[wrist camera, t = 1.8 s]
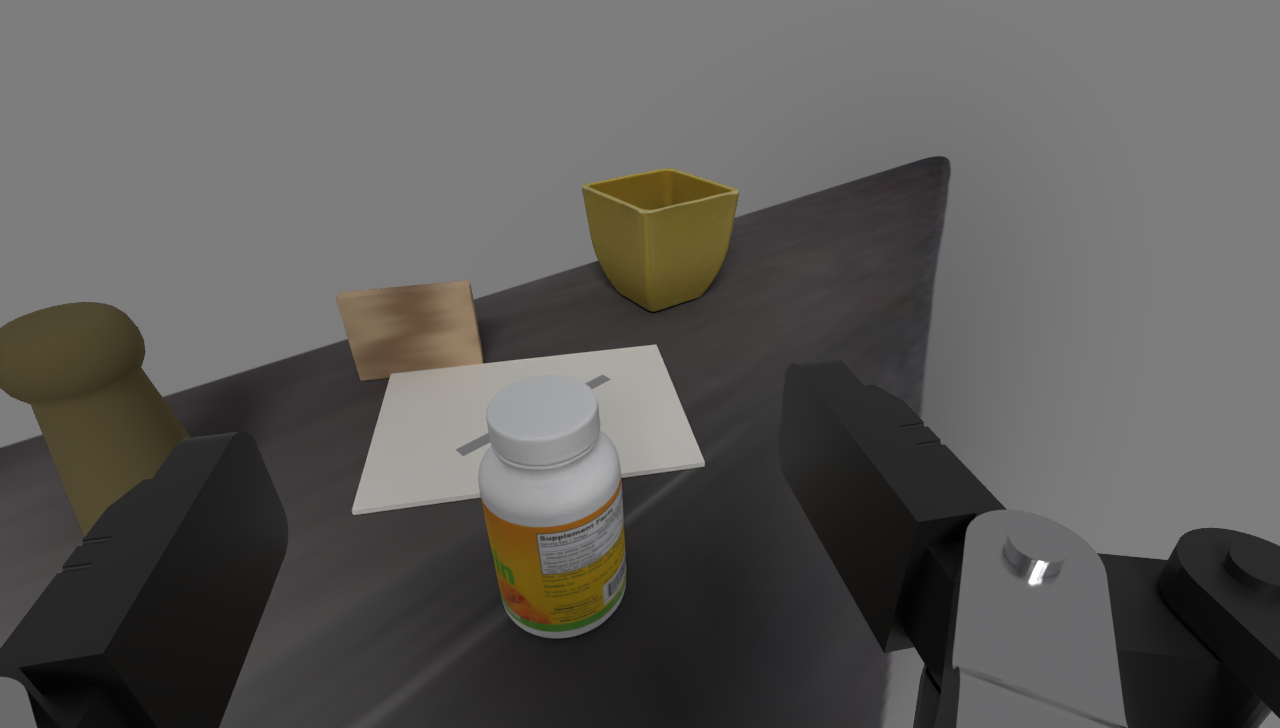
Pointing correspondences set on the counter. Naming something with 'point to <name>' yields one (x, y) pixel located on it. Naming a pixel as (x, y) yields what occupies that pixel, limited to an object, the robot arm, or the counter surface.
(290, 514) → the counter surface
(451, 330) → the wooden block
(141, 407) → the olive chess pawn
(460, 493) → the paper
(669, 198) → the flower pot
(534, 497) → the supplement bottle
